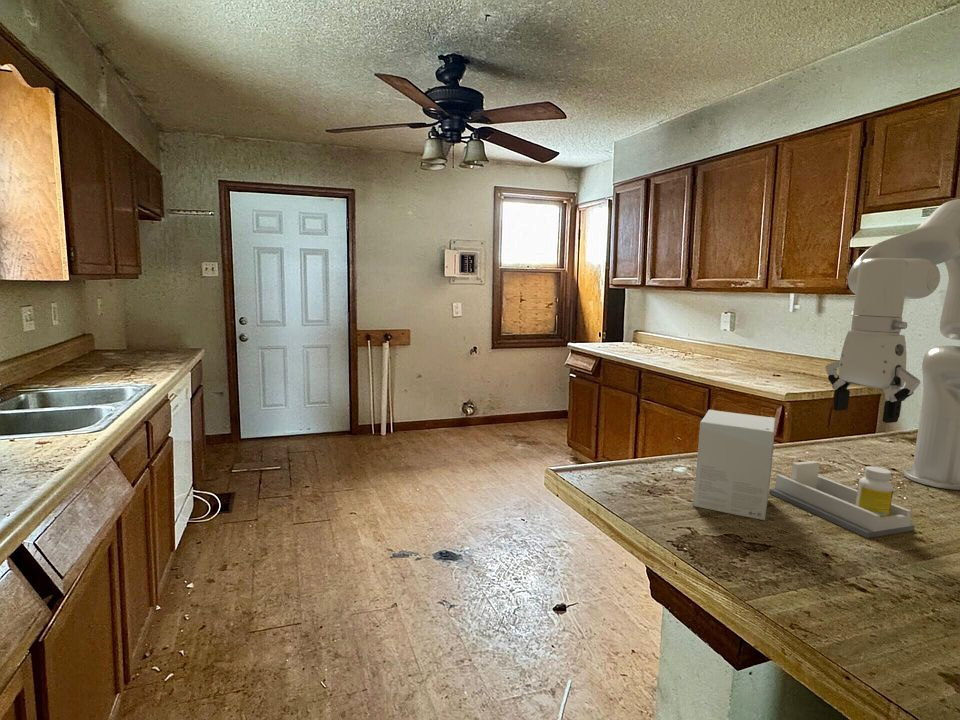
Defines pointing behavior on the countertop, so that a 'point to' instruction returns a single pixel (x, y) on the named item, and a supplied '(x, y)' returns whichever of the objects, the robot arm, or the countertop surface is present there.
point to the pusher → (806, 473)
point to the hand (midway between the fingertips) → (864, 415)
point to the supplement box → (734, 463)
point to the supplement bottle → (875, 491)
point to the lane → (841, 507)
